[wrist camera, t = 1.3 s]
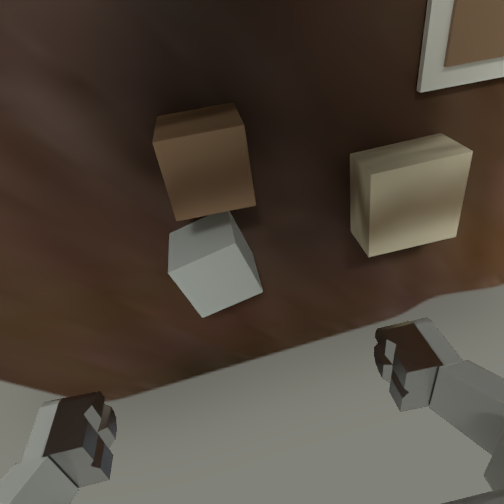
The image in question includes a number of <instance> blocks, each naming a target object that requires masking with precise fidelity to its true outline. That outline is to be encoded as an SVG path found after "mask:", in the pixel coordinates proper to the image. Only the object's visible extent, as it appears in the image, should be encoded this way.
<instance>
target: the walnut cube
mask: <svg viewBox="0 0 504 504" xmlns="http://www.w3.org/2000/svg"><path fill="white" fill-rule="evenodd" d="M152 144H153V147H154V150H155V153H156V157H157V160H158V163H159V166H160V170H161V173H162V176H163V180H164V183H165V186H166V189H167V193H168V196H169V199H170V202H171V206H172V209H173V212H174V216H175V219H176V221H181V220H186V219H191V218H196V217H201V216H206V215H211V214H216V213H221V212H226V211H231V210H236V209H241V208H246V207H251V206H256V201H255V194H254V188H253V181H252V174H251V167H250V160H249V154H248V147H247V140H246V133H245V127H244V123H243V121H242V119H241V117H240V115H239V113H238V111H237V108H236V106H235V104H234V102H231V103H225V104H220V105H214V106H209V107H204V108H198V109H193V110H188V111H182V112H177V113H172V114H166V115H161V116H157V117H156V123H155V129H154V135H153V141H152Z"/></svg>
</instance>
